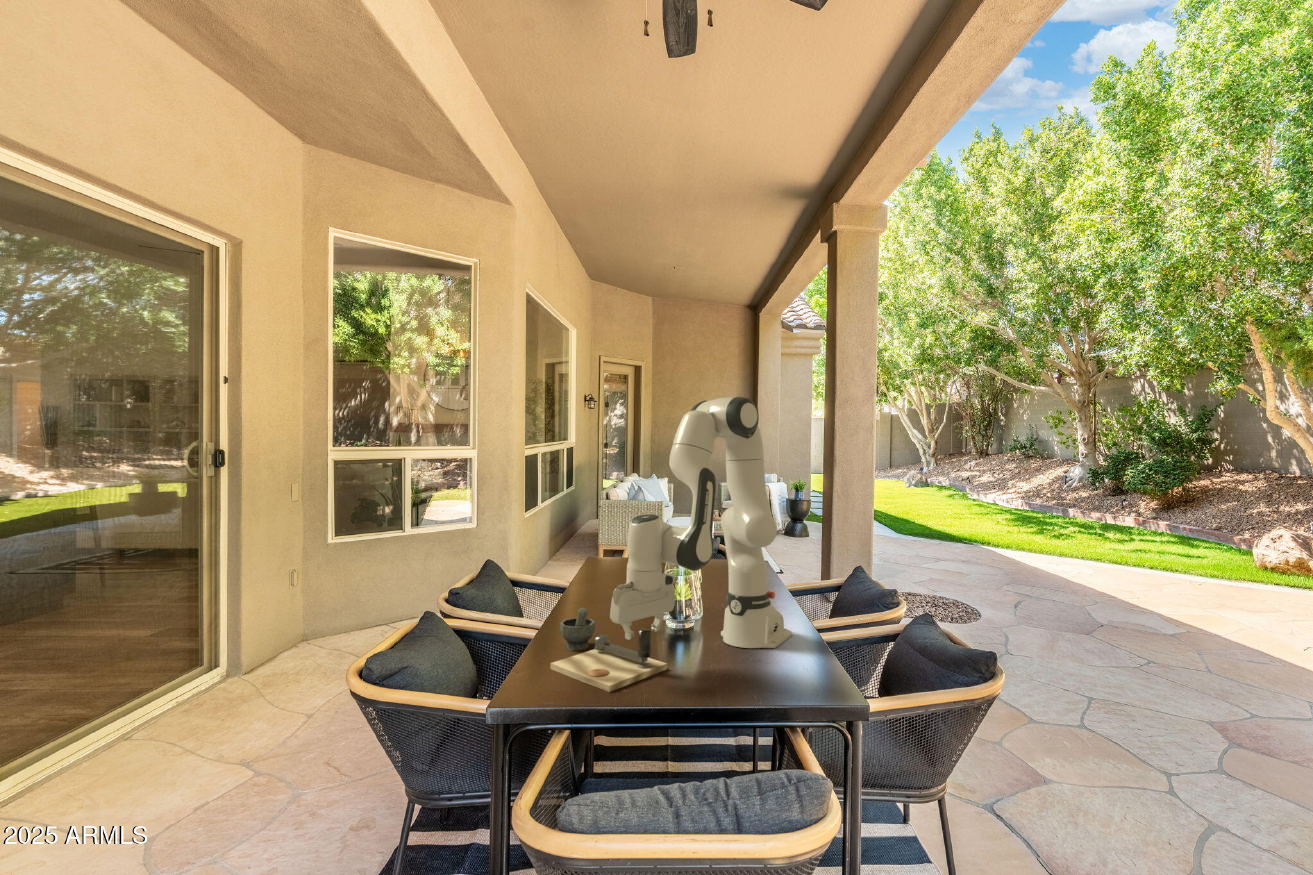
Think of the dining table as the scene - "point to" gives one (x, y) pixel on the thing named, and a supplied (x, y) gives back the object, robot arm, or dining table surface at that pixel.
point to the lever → (639, 656)
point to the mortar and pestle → (578, 630)
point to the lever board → (606, 669)
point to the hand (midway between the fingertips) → (642, 634)
